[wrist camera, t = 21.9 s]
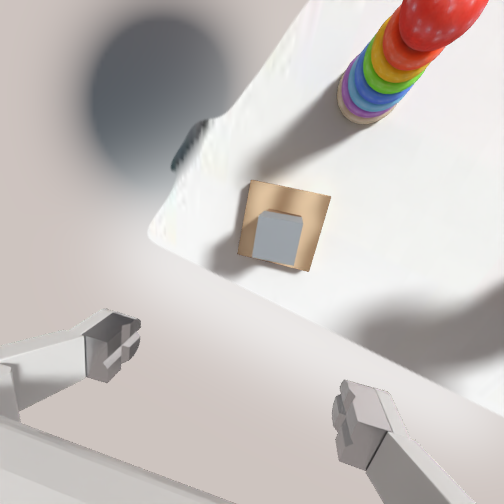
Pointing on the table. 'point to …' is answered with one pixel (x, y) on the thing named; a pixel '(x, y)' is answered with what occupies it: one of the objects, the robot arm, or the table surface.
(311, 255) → the base board
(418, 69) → the stacking toy
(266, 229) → the slate block
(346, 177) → the table surface
